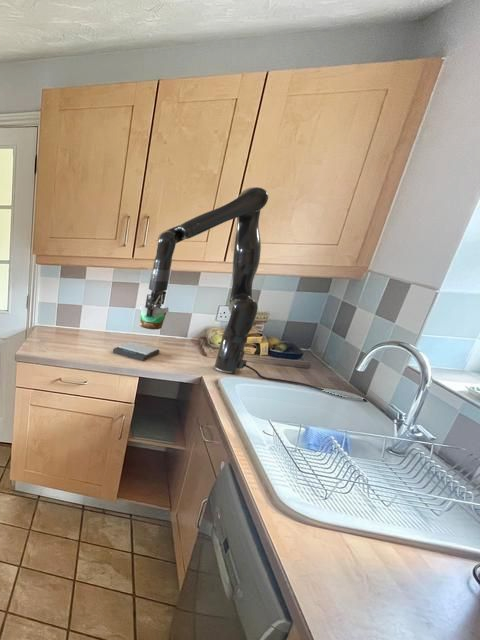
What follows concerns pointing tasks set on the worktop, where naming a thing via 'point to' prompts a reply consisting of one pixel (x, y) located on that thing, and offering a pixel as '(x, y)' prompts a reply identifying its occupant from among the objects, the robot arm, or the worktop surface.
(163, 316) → the food container
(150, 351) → the scale
